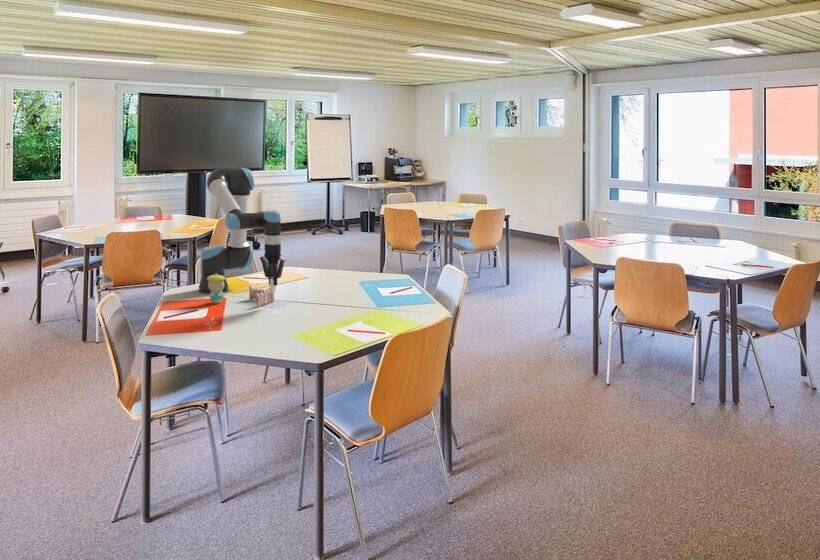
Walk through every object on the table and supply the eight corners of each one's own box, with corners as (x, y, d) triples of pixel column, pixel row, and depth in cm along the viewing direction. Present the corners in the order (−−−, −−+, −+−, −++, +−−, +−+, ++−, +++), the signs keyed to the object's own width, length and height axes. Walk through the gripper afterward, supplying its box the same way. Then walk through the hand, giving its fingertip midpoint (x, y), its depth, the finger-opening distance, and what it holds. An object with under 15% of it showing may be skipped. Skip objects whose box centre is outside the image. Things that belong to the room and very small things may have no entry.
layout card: (242, 305, 324) (242, 304, 324) (258, 299, 337) (258, 298, 337) (277, 309, 318) (277, 308, 317) (292, 303, 330) (292, 302, 330)
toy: (217, 300, 332) (215, 271, 329) (229, 303, 327) (228, 273, 324) (204, 303, 326) (202, 273, 323) (216, 306, 321) (215, 276, 318)
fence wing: (269, 301, 329) (268, 289, 328) (270, 301, 329) (270, 290, 328) (256, 306, 320) (256, 294, 318) (258, 306, 319) (258, 294, 318)
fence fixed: (275, 302, 331) (274, 287, 330) (272, 303, 329) (272, 288, 328) (251, 299, 336) (250, 284, 335) (248, 300, 334) (247, 285, 332)
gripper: (256, 243, 313) (257, 292, 318) (280, 246, 309) (281, 295, 314) (264, 241, 320) (265, 288, 325) (288, 243, 316) (289, 291, 321)
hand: (273, 291), depth 320 cm, fingers closed
